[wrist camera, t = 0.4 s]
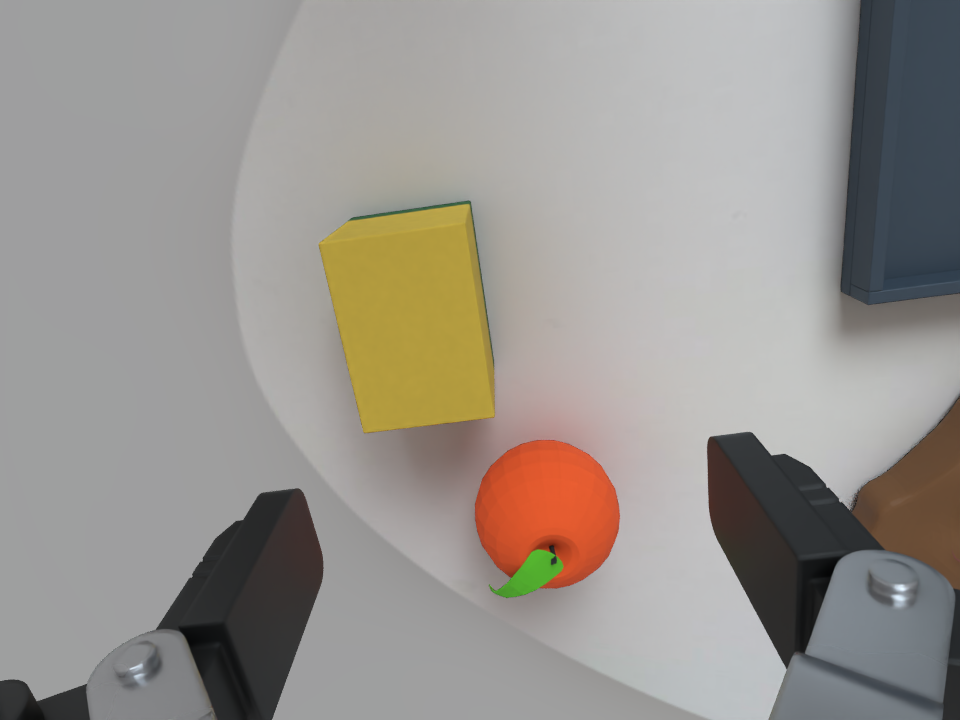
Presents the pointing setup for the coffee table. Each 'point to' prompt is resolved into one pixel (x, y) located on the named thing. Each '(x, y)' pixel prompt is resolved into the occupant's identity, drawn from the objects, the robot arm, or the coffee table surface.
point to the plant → (920, 501)
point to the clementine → (546, 516)
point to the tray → (905, 154)
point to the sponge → (412, 316)
